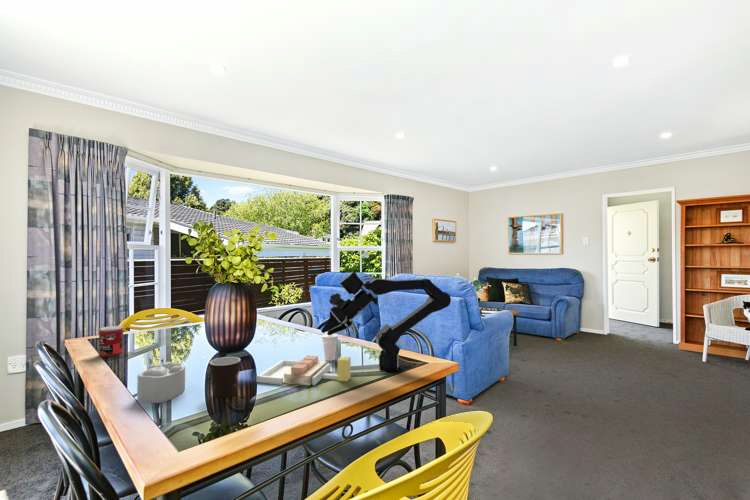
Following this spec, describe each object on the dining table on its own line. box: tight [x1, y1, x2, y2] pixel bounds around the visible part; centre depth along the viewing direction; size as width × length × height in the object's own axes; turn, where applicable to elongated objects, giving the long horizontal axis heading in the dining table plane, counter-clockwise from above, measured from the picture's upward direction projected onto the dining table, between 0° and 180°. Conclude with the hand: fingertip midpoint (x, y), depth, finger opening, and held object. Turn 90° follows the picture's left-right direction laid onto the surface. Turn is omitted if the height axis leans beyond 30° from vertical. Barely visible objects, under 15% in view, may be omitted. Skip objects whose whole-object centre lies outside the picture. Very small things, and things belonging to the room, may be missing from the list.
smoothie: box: [321, 333, 339, 362], centre depth 145 cm, size 6×6×14 cm
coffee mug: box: [209, 356, 241, 399], centre depth 111 cm, size 12×9×10 cm
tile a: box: [303, 354, 319, 365], centre depth 131 cm, size 4×4×2 cm
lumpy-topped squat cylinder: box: [136, 361, 186, 404], centre depth 110 cm, size 10×13×9 cm
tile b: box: [297, 359, 313, 369], centre depth 126 cm, size 4×4×2 cm
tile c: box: [291, 364, 307, 374], centre depth 121 cm, size 4×4×2 cm
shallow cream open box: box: [283, 360, 328, 386], centre depth 126 cm, size 9×16×3 cm, turn 168°
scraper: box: [311, 356, 352, 386], centre depth 124 cm, size 10×15×7 cm
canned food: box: [98, 325, 124, 358], centre depth 150 cm, size 8×8×11 cm
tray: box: [256, 359, 300, 386], centre depth 128 cm, size 9×19×2 cm, turn 168°
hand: (324, 333), depth 131 cm, fingers open, 9 cm apart
